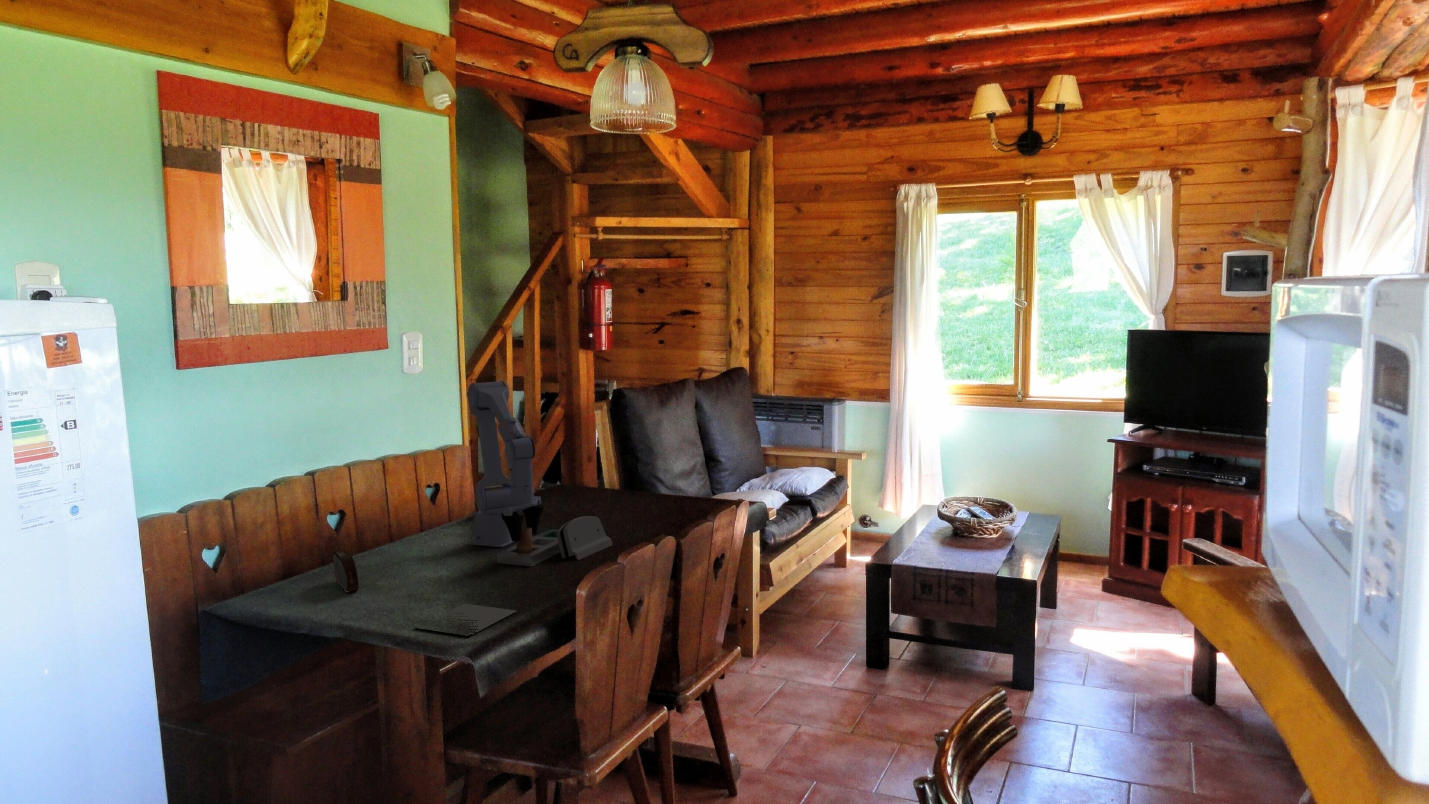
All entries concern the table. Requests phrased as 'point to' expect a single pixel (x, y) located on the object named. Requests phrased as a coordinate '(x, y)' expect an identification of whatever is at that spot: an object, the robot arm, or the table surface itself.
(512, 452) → the robot arm
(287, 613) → the table surface
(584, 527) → the hinge
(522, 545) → the peg
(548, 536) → the tray
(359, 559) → the table surface
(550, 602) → the table surface
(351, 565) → the tin
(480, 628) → the dark grey mat
